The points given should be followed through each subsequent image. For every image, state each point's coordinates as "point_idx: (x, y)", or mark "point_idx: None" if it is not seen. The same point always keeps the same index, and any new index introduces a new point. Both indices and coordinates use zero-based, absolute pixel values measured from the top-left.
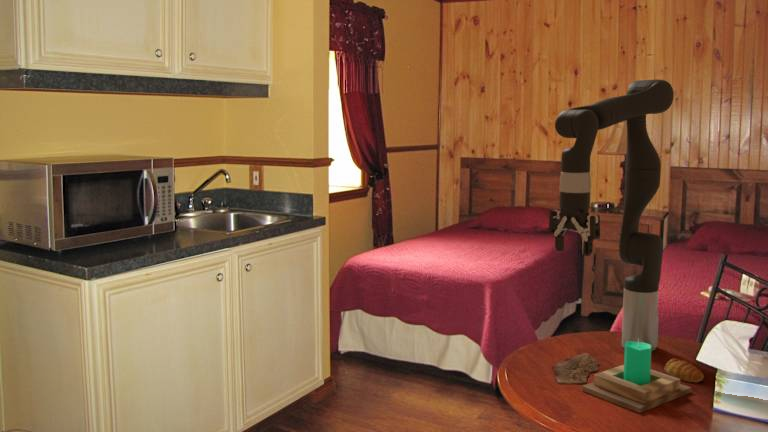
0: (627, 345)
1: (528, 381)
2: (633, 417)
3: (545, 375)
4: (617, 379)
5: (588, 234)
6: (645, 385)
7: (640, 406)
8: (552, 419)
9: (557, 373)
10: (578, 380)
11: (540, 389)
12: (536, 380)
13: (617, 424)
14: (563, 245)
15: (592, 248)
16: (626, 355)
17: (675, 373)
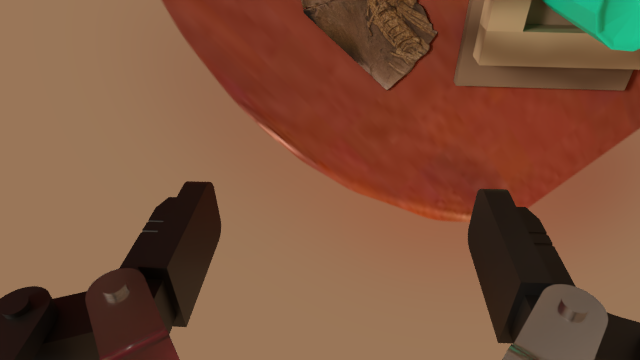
0: (610, 45)
1: (333, 128)
2: (610, 111)
3: (333, 71)
4: (546, 45)
5: (541, 355)
6: None
7: (622, 81)
8: None
9: (349, 46)
10: (419, 47)
11: (381, 141)
12: (341, 111)
13: (590, 159)
14: (199, 207)
15: (550, 240)
16: (592, 36)
17: None
